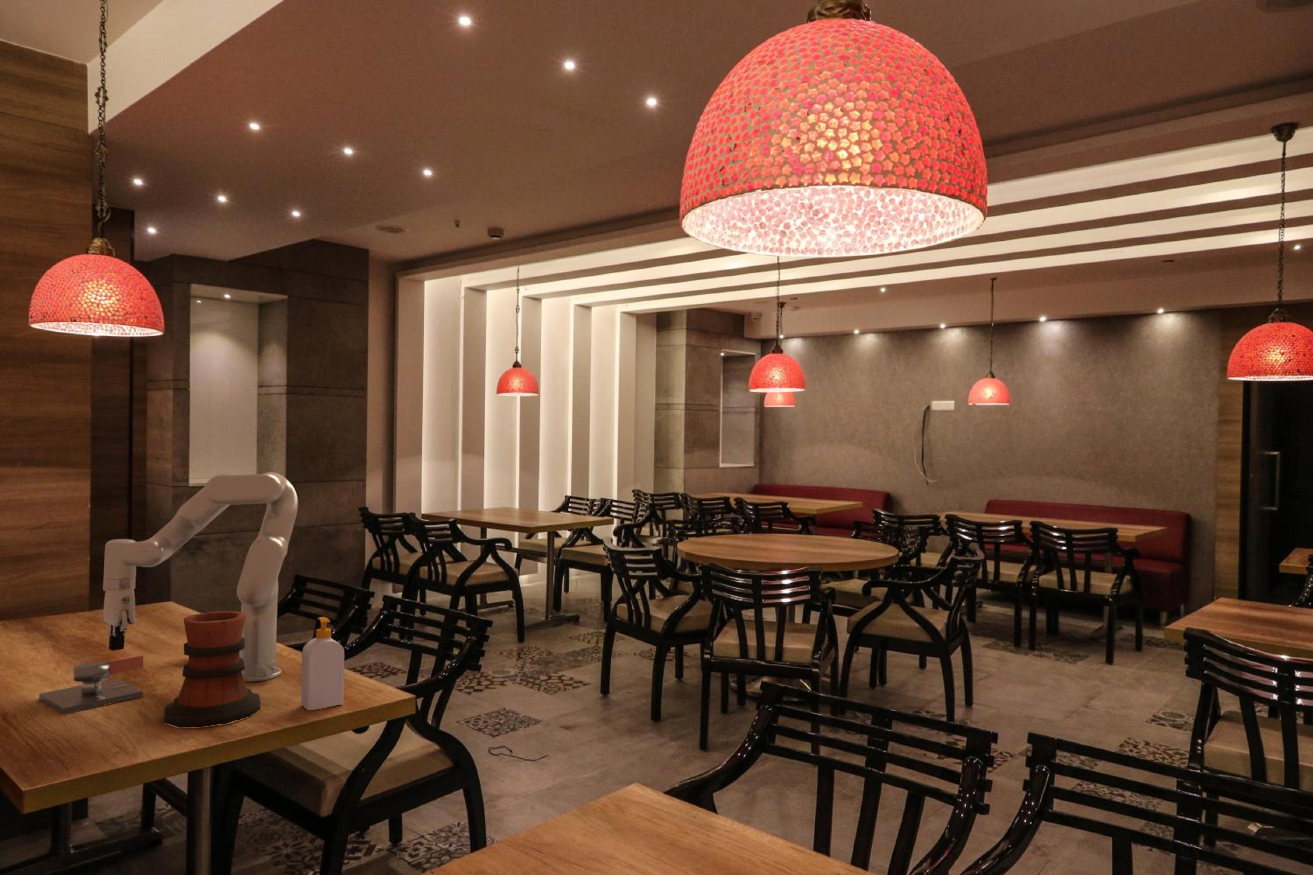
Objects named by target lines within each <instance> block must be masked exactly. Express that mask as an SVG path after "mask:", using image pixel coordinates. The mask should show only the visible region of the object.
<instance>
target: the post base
mask: <svg viewBox="0 0 1313 875" xmlns="http://www.w3.org/2000/svg"><path fill="white" fill-rule="evenodd" d="M38 695H39V696H38V700H39V701H41V702H43V703H44V704H46V705H47V706H49V707H50V708H52V709H54V710H55V711H57V712H59V713H60V714H62V715H65V713H67V714H70V713H75V712H74V711H76V712H78V711H77V710H81V711H84V710H89V708H90V709H93V708H92V707H94V708H97V707H96V706H99V707H102V706H101V705H103V706H105V705H104V704H108V705H110V704H109V703H113V704H115V703H114V702H117V703H120V702H119V701H122V702H124V701H123V700H126V701H130V700H129V699H131V700H134V699H135V698H136V699H139V697H140V698H143V697H144V696H143V695H144V691H143V690H141V689H138V688H137V687H135V686H133V685H131V684H128V683H127V682H125V681H123V680H120V679H118V678H112V679H106V680H103V679H100V680H95V681H86V682H81V684H80V685H77V686H71V687H67V688H62V689H57V690H51V691H46V692H41V693H39V694H38ZM136 699H135V700H136Z"/></svg>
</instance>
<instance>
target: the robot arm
mask: <svg viewBox="0 0 1313 875" xmlns="http://www.w3.org/2000/svg"><path fill="white" fill-rule="evenodd" d="M255 504H257V505H259V504H266V510H265V514H264V516H263V519H262V523H261V526H260V529H259V532H258V535H257V537H256V539H255V540H254V541H253V542H252V543H251V545H250V547H249V549H248V552H247V555H246V557H245V561H244V564H243V567H242V571H241V573H240V575H239V576H240V577H239V580H238V583H237V587H236V595H237V598H238V600H239V601H240V602H241V607H240V608H241V610H240V612H242V613H245V614H246V618H245V623H244V628H243V632H242V638H244V639H245V646H244V649H242V650H240V657H239V658H242V659H243V660H244V666H245V670H243V671H241V672H242V675H243V678H244V681H245V683H246V682H250V683H251V682H259V681H260V682H261V681H267V680H271V679H275V678H277V677H279V676H280V675H281V674H282V668H280V667H278V666H277V664H276V663H277V662H276V661H277V625H278V624H277V622H278V619H277V618H278V600H279V599H278V596H279V580H278V579H279V576H280V575H279V574H280V572H281V568H282V565H283V562H284V559H285V557H286V556H287V555H288V550H289V549H288V548H289V543H290V539H291V536H292V533H293V531H294V525H295V522H296V518H297V513H298V507H299V498H298V495H297V492H296V490H295V488H294V486H293V484H292V483H291V482H290V481H289V480H288V479H287V478H286V477H285V476H283V475H281V474H279V473H277V472H273V471H270V472H269V471H268V472H264V473H258V474H257V473H255V474H253V473H252V474H232V473H227V472H226V473H220V474H216V475H214V476H212V477H211V478H210V479H208V481H207V482H206V484H205V485H204V486H203V488H202V489H200V490H199V491H198V492H197V493H196V494H194V495H193V496H192V497H190V498H189V499H188V500H187V501H186V502H185V503H184V504H182V505H181V506H180V507H179V509H177V512H176V514H175V515H174V517H173V518H172V519H171V520H170V521H169V522H168V523H167V524H165V525H164V526H163V527H162V528H160V530H158V532H157V533H155V534H154V535H152V537H150V538H148V539H146V540H142V541H136V540H134V539H129V538H124V539H123V538H121V539H119V538H118V539H117V538H116V539H112V540H108V541H107V542H106V544H105V547H104V561H103V562H104V566H103V584H102V590H103V591H104V592H105V593H104V601H103V611H102V612H103V621H104V622H105V623H107V626H108V633H109V638H108V640H109V641H108V650H109V651H113V652H114V651H119V650H124V648H125V635H126V631H127V632H128V625H131V626H132V625H134V624H135V623H136V597H135V596H136V595H135V591H134V590H135V589H136V580H137V579H136V578H137V567H142V568H152V567H153V568H154V567H156V566H158V565H160V564H161V563H163V562H164V561H166V560H168V559H169V558H170V557H171V556H172V555H173V554H175V553H176V552H177V551H178V550H180V549H181V548H182V546H184V545H185V544H186V543H188V541H189V540H190V539H192V538H193V537H194V536H195V535H196V534H198V533H199V532H201V531H203V529H204V528H205V527H207V526H208V525H209V524H210V523H211V522H213V520H214V519H215V518H216V517H218V516H219V515H220V514H221V513H222V512H223V511H224V510H226V509H227V508H228V507H229V506H230V505H232V506H233V505H255Z"/></svg>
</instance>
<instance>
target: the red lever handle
mask: <svg viewBox="0 0 1313 875" xmlns="http://www.w3.org/2000/svg"><path fill="white" fill-rule="evenodd" d="M140 669H144V655H143V654H137V655H130V656H125V657H120V658H114V659H109V660H107V661H93V662H92V661H91V662H86V663H82V664H78V665H76V666H74V667H73V672H72V674H73V676H72V679H73V680H72V681H74V682H81V683H82V682H86V681H95V680H100V679H102V680H103V679H107V678H109V677H110V675H114V674H119V673H125V672H130V671H136V670H140Z"/></svg>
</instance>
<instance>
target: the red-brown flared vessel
mask: <svg viewBox="0 0 1313 875" xmlns="http://www.w3.org/2000/svg"><path fill="white" fill-rule="evenodd" d="M245 618H246V614H245V613H242V612H241V611H235V610H234V611H233V610H227V611H226V610H224V611H223V610H220V611H210V612H202V613H195V614H191V615H188V616H186V617H184V618H183V626H184V629H185V630H184V631H185V635H186V636H185V637H186V640H187V642H185V643H183V656H188V662H187V663H185V664H183V669H182V677H183V678H184V679H183V684H182V685H181V689H180V691H179V693H178V696H176V698H173V701H172V702H171V703H169V704H167V705H165V706H164V714H163V715H164V720H163V722H164V723H167V724H171V725H174V726H177V727H203V726H211V725H217V724H226V723H229V722H232V721H235V720H240V719H242V718H246V717H250V716H251V715H252V714H254V713H256V712H257V711H258V710H260V711H261V697H260V695H259V694H258V693H255V692H252V688H248V687H247V684H246V681H244V678H243V675H242V672H241V671H243V670H245V666H244V660H243V659H242V658H240V650H242V649H244V646H245V639H244V638H242V632H243V628H244V623H245ZM257 713H258V712H257ZM257 713H256V714H257ZM254 715H255V714H254ZM251 717H252V716H251ZM251 717H250V718H251ZM167 724H166V725H167Z"/></svg>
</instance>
